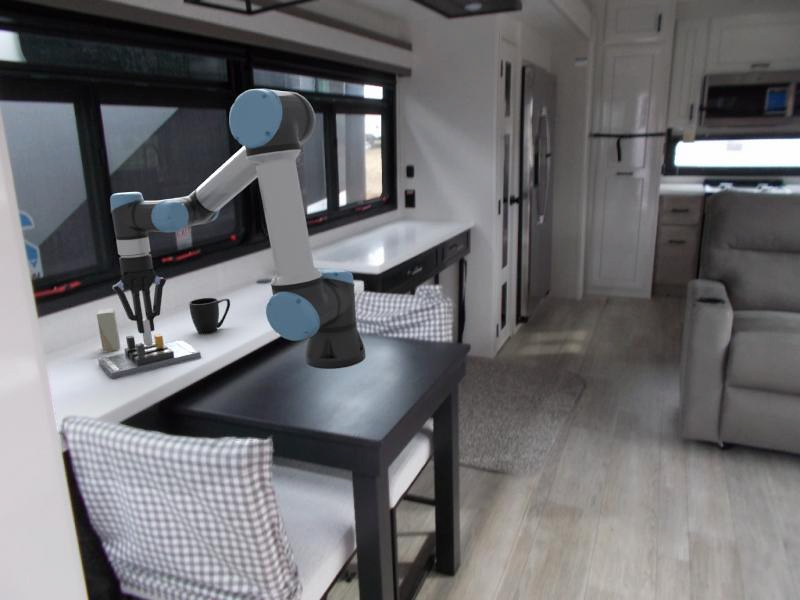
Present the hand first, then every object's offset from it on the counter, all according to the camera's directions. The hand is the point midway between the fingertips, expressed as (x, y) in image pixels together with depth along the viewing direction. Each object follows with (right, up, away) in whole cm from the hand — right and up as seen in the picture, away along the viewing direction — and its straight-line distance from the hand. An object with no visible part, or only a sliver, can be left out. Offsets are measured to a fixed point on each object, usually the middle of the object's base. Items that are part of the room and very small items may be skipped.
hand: (148, 343), depth 162 cm
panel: (0, -4, +1) cm, 5 cm away
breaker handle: (+2, -1, +2) cm, 3 cm away
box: (-15, -2, +13) cm, 20 cm away
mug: (+9, +2, +26) cm, 28 cm away
